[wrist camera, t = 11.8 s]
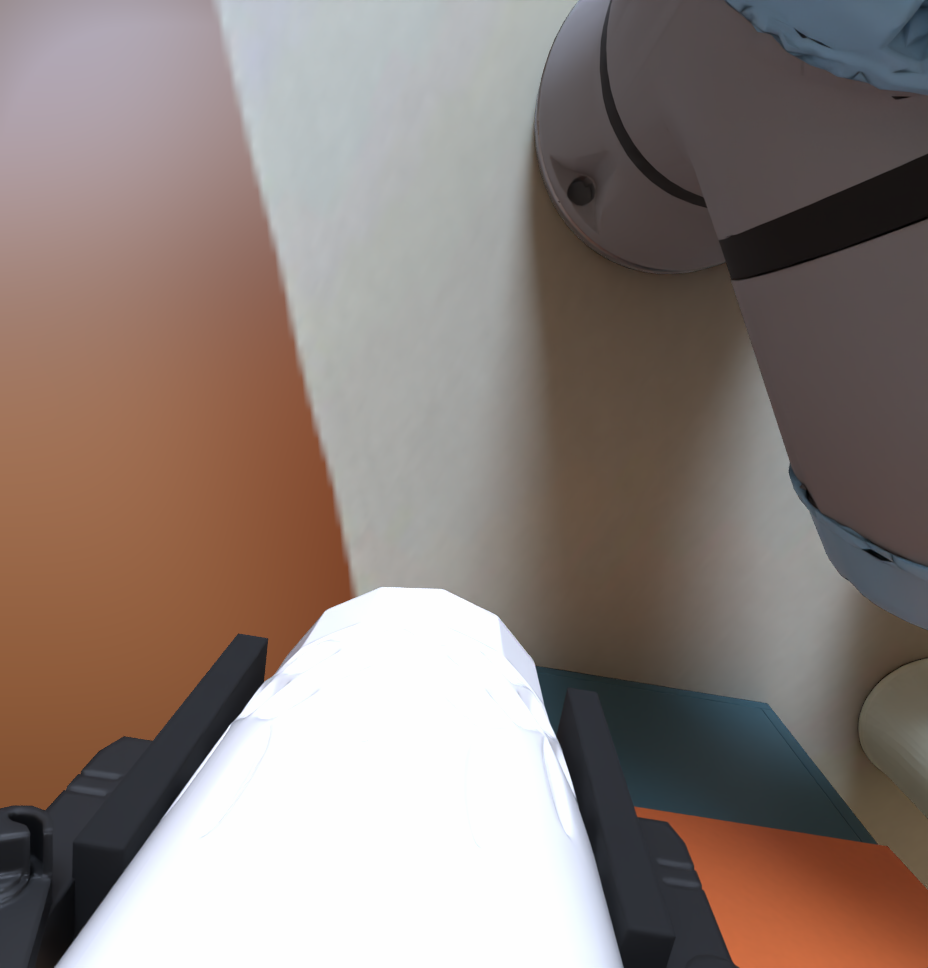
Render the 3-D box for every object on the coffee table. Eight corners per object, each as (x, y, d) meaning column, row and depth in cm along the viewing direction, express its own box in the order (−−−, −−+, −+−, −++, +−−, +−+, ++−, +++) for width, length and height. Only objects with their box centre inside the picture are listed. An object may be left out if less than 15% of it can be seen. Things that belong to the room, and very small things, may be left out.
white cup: (490, 511, 15) (508, 851, 5) (610, 772, 16) (796, 1404, 7) (205, 632, 16) (-233, 1110, 6) (345, 868, 17) (176, 1541, 8)
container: (710, 880, 45) (791, 1070, 33) (468, 843, 44) (465, 1021, 33) (767, 703, 41) (879, 845, 30) (505, 660, 41) (516, 788, 29)
